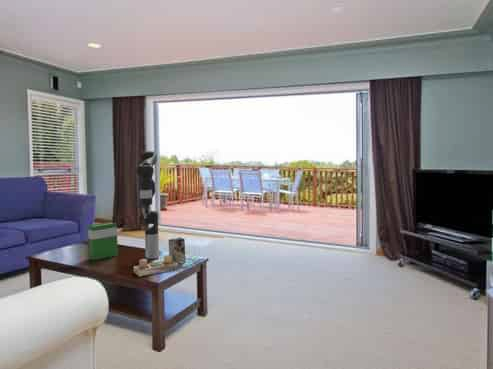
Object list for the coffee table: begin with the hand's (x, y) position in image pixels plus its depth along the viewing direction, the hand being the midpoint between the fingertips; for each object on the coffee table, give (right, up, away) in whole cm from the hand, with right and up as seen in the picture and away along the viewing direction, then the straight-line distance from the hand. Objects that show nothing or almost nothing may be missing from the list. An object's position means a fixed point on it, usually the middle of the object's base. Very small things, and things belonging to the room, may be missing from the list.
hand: (147, 224), depth 234 cm
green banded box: (-40, -27, +33) cm, 58 cm away
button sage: (+6, -28, 0) cm, 29 cm away
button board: (+6, -29, 0) cm, 30 cm away
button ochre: (+12, -26, +4) cm, 29 cm away
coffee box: (+16, -28, +17) cm, 36 cm away
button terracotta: (-1, -27, -5) cm, 27 cm away
